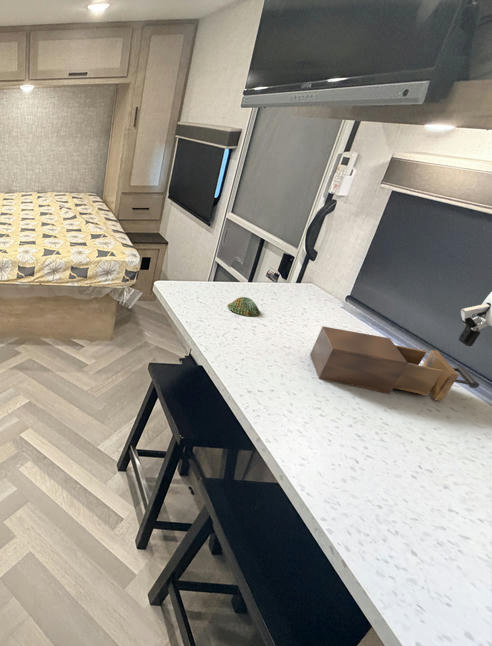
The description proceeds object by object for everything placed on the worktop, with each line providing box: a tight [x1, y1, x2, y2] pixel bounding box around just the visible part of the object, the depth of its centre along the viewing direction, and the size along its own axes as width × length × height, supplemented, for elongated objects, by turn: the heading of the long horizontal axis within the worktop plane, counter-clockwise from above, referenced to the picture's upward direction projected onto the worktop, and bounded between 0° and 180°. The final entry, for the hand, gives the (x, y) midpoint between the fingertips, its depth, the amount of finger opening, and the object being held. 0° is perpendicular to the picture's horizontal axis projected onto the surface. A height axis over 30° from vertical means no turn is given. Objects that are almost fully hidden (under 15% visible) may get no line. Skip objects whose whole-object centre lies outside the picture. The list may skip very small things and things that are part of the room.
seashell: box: [227, 296, 261, 317], centre depth 140 cm, size 10×4×10 cm
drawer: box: [393, 344, 480, 402], centre depth 100 cm, size 19×11×8 cm, turn 63°
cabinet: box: [309, 326, 408, 395], centre depth 105 cm, size 15×13×10 cm
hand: (490, 346), depth 92 cm, fingers open, 9 cm apart
